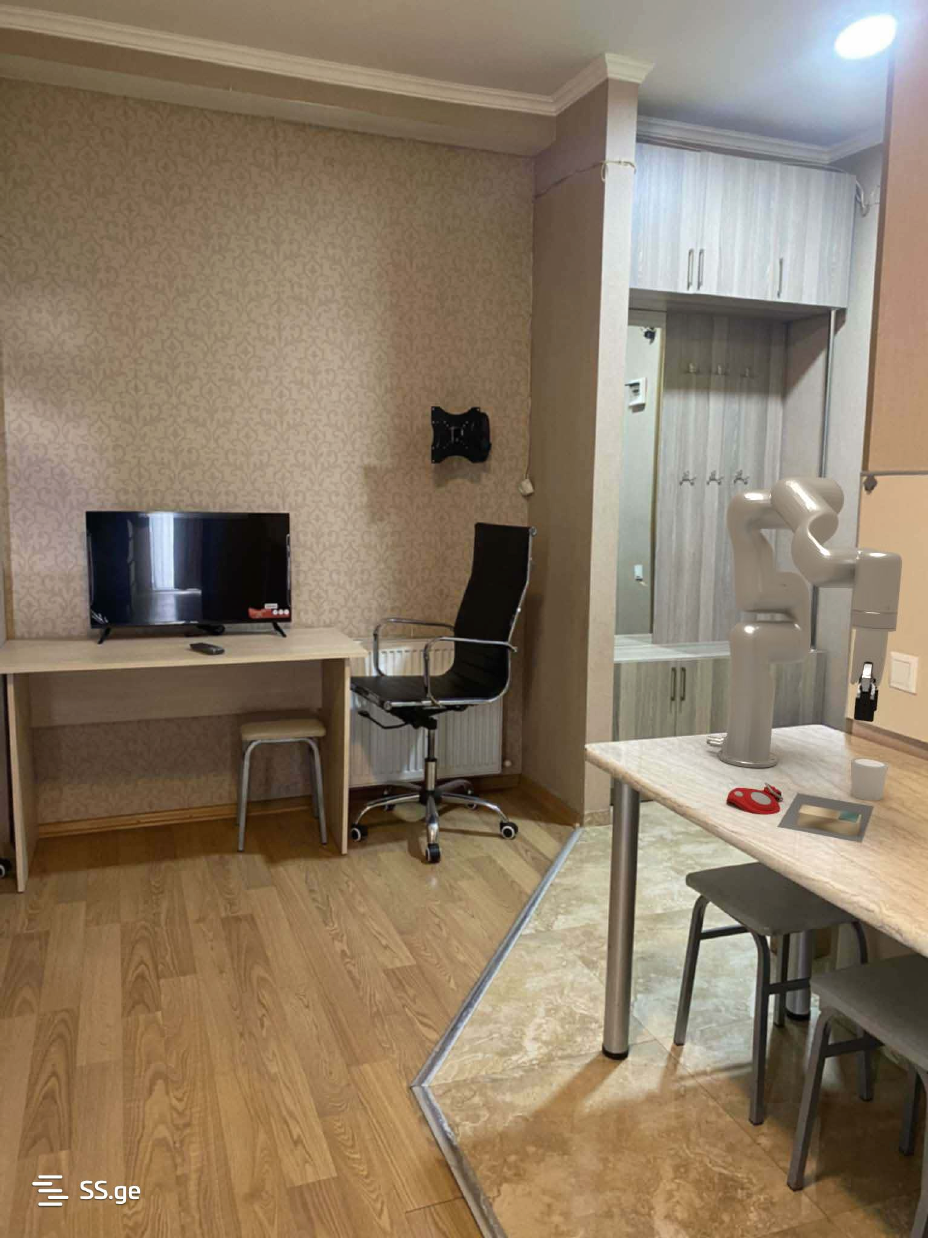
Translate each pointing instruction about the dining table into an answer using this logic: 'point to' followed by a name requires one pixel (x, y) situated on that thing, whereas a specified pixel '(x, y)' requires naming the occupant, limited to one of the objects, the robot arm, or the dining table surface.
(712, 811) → the dining table surface
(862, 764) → the white cylinder
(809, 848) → the dining table surface
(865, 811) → the rubber mat
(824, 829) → the birch tile
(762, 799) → the tracker holder
